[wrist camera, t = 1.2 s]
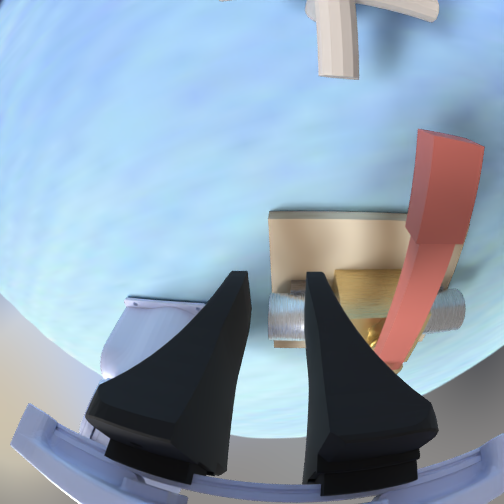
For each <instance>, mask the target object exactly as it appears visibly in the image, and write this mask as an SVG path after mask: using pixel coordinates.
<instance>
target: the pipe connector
mask: <svg viewBox="0 0 504 504" xmlns="http://www.w3.org/2000/svg"><path fill="white" fill-rule="evenodd" d="M219 1H230V0H219ZM355 3H356V4H362V5H367V6H372V7H377V8H382V9H386V10H390V11H394V12H398V13H402V14H405V15H409V16H412V17H415V18H419V19H422V20H425V21H428V22H433V21H435V20H436V19H437V16H438V13H439V3H438V1H437V0H307V2H306V6H305V12H306V14H307V16H308V17H309V18H310V19H311V20H313V21H315V22H316V26H317V44H318V72H319V76H322V77H330V78H341V79H354V80H359V51H358V32H357V18H356V7H355Z"/></svg>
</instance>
